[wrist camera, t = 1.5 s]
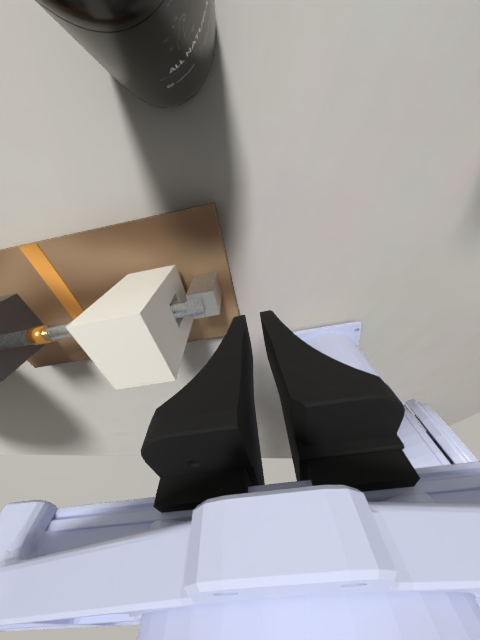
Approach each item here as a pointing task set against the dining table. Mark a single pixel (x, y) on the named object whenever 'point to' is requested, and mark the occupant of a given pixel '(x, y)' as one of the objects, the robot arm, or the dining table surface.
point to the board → (116, 271)
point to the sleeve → (136, 329)
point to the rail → (198, 304)
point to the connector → (15, 317)
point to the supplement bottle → (145, 42)
